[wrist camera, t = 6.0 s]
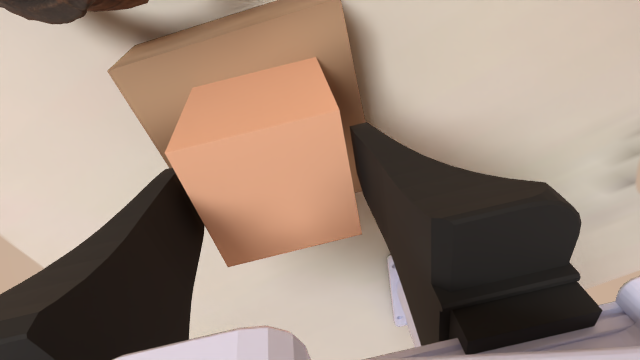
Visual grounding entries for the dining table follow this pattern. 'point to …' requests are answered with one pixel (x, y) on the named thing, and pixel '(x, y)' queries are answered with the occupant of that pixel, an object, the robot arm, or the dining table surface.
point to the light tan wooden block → (239, 62)
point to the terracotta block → (266, 162)
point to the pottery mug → (64, 8)
